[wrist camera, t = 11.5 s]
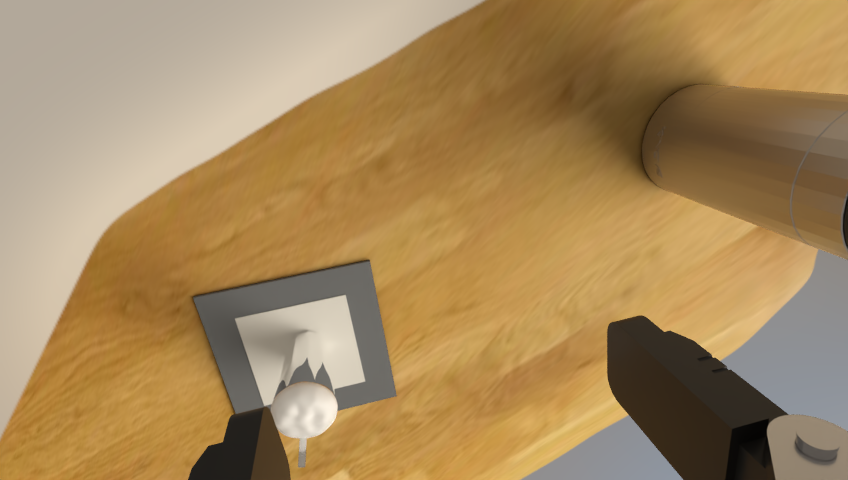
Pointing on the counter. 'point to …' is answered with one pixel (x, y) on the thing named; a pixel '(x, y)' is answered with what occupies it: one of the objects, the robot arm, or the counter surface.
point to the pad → (294, 313)
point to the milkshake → (305, 391)
